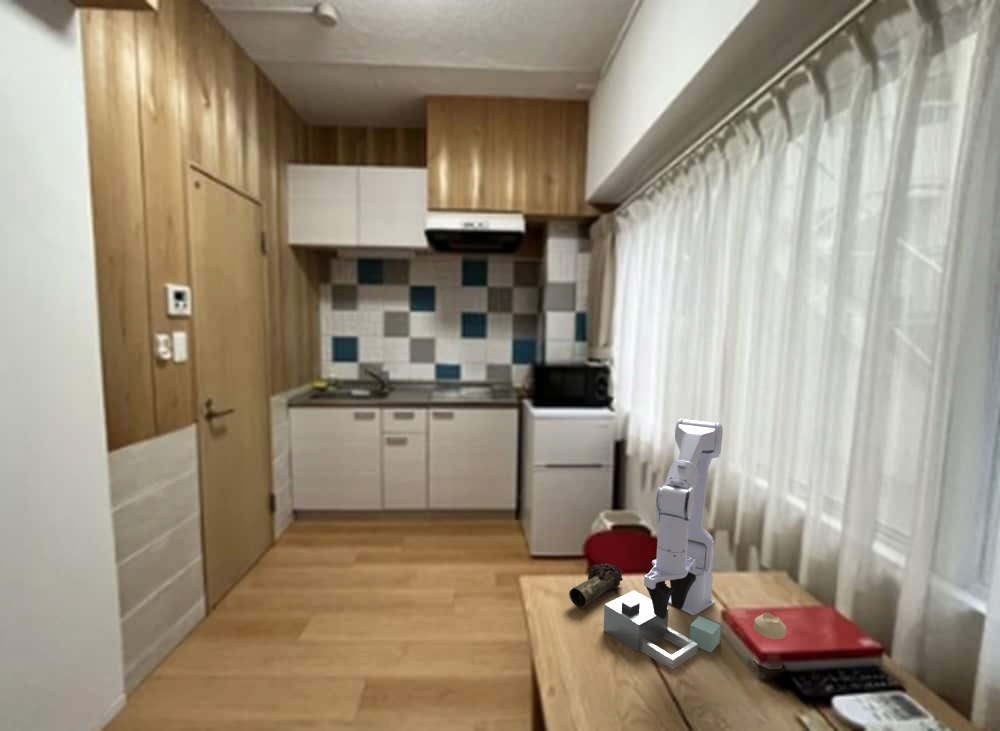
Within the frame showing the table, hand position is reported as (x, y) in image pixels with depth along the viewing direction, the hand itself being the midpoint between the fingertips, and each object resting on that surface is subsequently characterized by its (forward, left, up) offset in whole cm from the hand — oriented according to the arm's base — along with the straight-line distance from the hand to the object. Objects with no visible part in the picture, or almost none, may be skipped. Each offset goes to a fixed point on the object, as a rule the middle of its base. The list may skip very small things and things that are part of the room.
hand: (668, 611), depth 102 cm
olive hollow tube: (+1, -22, -11) cm, 25 cm away
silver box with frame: (0, 0, -9) cm, 9 cm away
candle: (-13, +14, -9) cm, 21 cm away
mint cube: (-6, +4, -6) cm, 10 cm away
